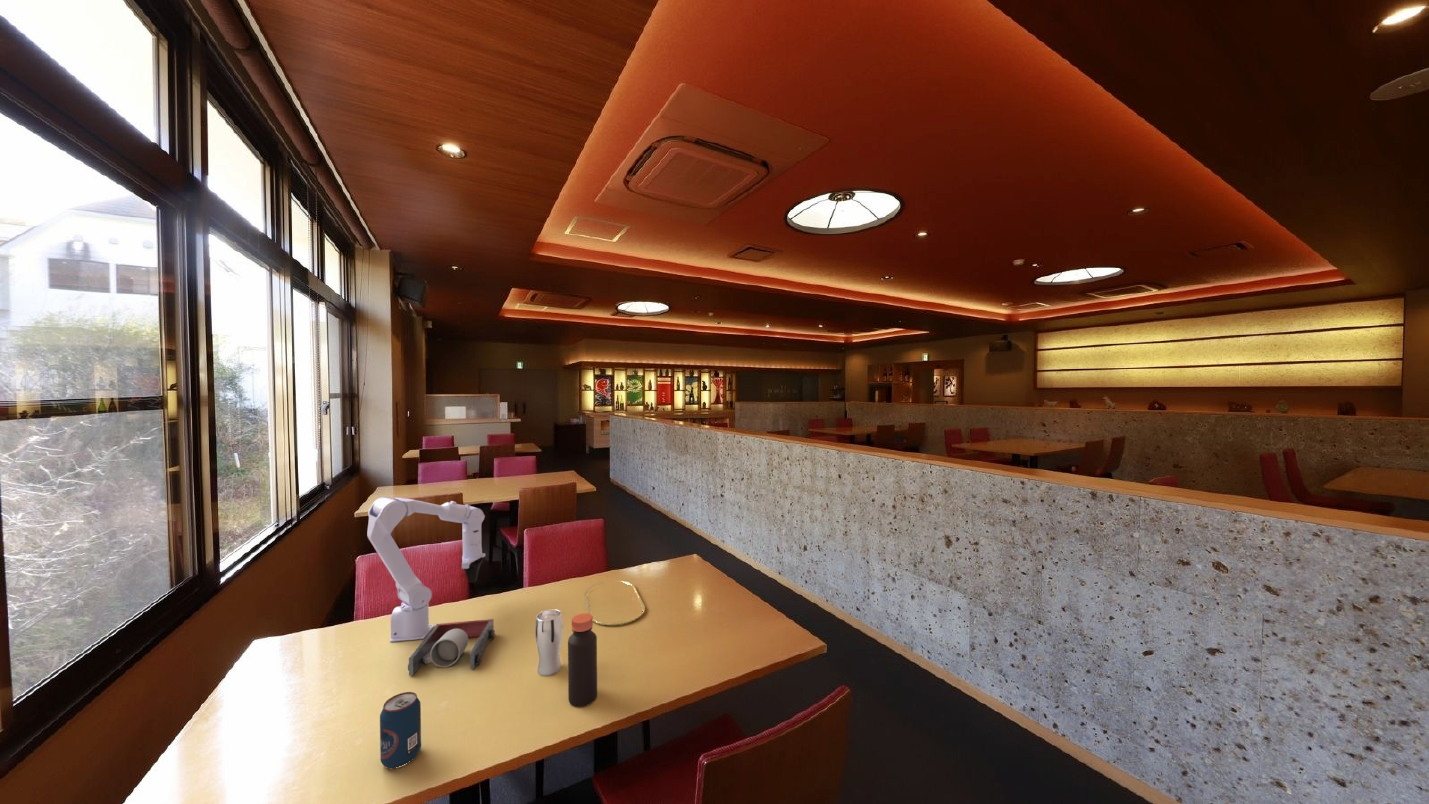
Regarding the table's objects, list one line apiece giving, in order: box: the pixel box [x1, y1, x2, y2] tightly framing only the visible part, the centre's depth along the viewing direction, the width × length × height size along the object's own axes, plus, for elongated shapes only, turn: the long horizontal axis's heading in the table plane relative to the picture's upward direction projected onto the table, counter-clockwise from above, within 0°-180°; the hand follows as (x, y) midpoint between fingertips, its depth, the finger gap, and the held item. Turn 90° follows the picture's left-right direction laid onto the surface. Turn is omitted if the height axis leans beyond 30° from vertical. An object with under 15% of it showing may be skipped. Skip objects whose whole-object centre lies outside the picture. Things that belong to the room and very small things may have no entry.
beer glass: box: [534, 608, 564, 677], centre depth 125 cm, size 7×7×15 cm
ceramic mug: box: [423, 629, 469, 668], centre depth 130 cm, size 11×8×8 cm
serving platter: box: [583, 579, 646, 627], centre depth 164 cm, size 19×35×2 cm, turn 21°
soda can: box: [379, 691, 422, 769], centre depth 95 cm, size 7×7×12 cm
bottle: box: [567, 612, 598, 708], centre depth 113 cm, size 7×7×20 cm
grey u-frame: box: [407, 618, 496, 676], centre depth 133 cm, size 18×18×4 cm
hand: (472, 581), depth 157 cm, fingers closed
